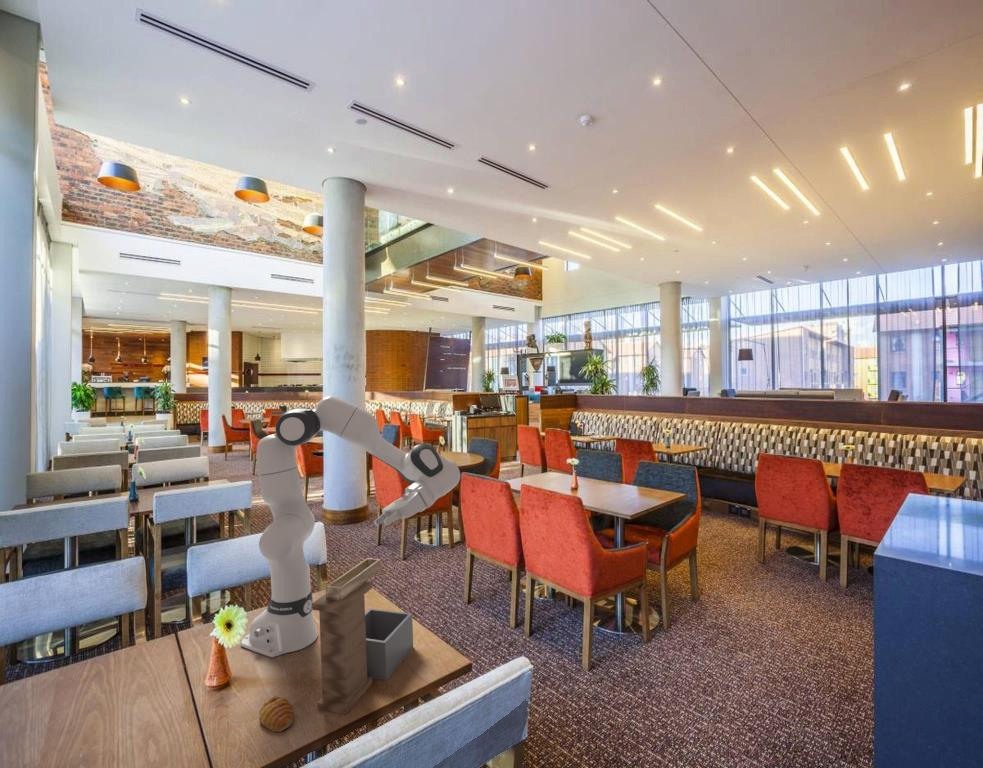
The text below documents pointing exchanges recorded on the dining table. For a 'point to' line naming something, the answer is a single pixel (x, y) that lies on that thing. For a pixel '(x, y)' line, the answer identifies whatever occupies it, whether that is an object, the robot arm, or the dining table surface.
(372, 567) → the birch crate
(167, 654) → the dining table surface
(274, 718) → the pastry
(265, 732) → the dining table surface
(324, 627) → the walnut pedestal
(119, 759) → the dining table surface
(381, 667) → the charcoal crate
